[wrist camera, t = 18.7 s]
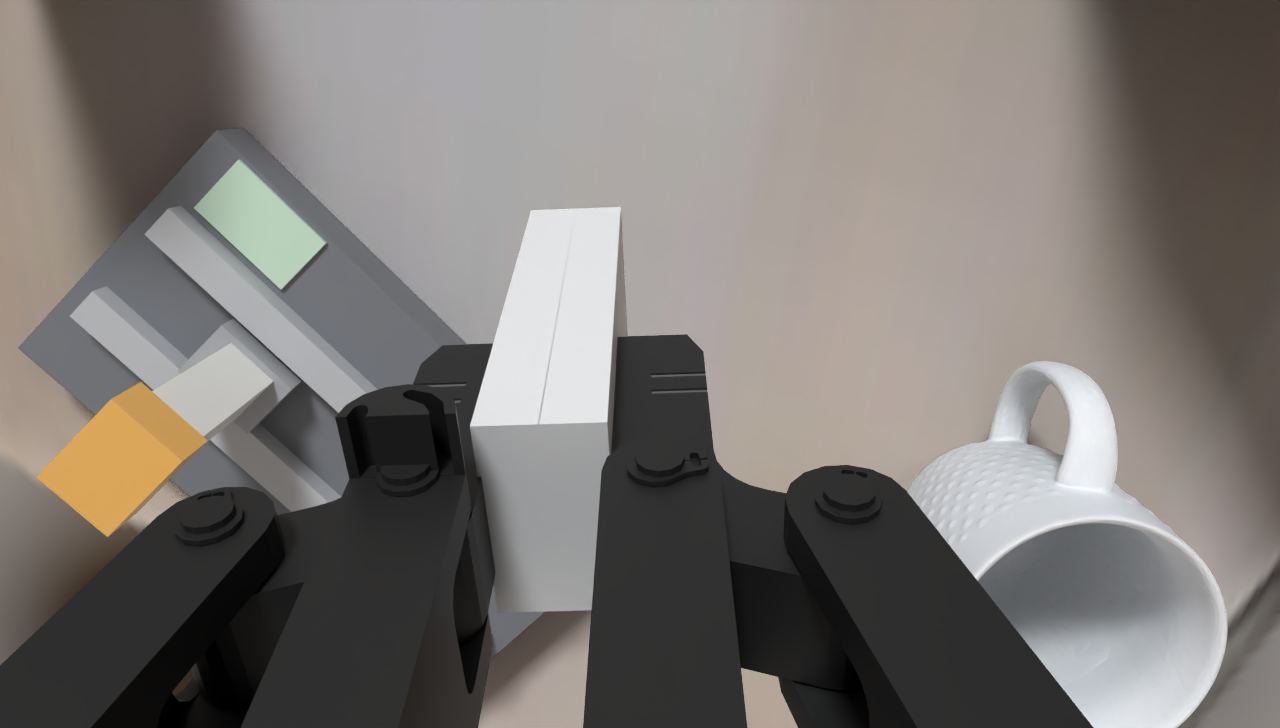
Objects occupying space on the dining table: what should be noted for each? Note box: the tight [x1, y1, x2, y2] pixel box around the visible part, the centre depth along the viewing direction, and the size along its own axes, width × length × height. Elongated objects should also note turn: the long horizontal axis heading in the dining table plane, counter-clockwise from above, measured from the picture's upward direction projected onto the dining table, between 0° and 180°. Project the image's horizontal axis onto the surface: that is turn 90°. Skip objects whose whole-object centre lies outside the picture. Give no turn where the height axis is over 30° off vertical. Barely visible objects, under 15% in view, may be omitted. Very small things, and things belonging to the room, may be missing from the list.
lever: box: [37, 318, 303, 537], centre depth 39 cm, size 4×4×12 cm
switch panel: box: [18, 128, 544, 659], centre depth 47 cm, size 26×14×4 cm, turn 44°
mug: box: [907, 361, 1227, 728], centre depth 43 cm, size 15×11×13 cm
